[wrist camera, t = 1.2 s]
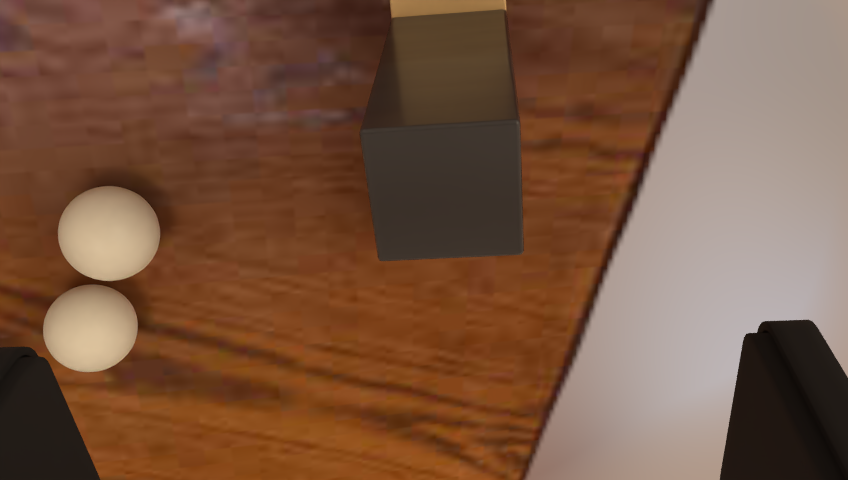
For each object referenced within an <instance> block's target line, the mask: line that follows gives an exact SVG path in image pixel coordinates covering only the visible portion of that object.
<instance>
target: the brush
mask: <svg viewBox="0 0 848 480" xmlns="http://www.w3.org/2000/svg"><path fill="white" fill-rule="evenodd" d="M390 9H391V18H392V20H391V24H390V27H389V31H388V34H387V38H386V41H385V45H384V48H383V52H382V55H381V59H380V62H379V66H378V69H377V73H376V76H375V80H374V83H373V87H372V90H371V94H370V98H369V101H368V105H367V108H366V112H365V115H364V119H363V122H362V126H361V129H360V139H361V146H362V153H363V159H364V166H365V173H366V180H367V186H368V193H369V200H370V207H371V213H372V220H373V227H374V233H375V240H376V247H377V254H378V258H379V260H380V261H395V260H417V259H438V258H459V257H481V256H502V255H520V254H522V253H523V251H524V244H523V207H522V170H521V133H520V117H519V109H518V101H517V93H516V85H515V77H514V69H513V61H512V53H511V44H510V36H509V28H508V20H507V12H506V0H390Z"/></svg>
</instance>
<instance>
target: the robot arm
mask: <svg viewBox="0 0 848 480" xmlns="http://www.w3.org/2000/svg"><path fill="white" fill-rule="evenodd" d="M0 480H100V478H99V476H98V473H97V471H96V469H95V466H94V464H93V462H92V460H91V457H90V455H89V453H88V451H87V448H86V446H85V444H84V441H83V439H82V437H81V435H80V432H79V430H78V428H77V426H76V423H75V421H74V419H73V416H72V414H71V412H70V410H69V407H68V405H67V403H66V401H65V398H64V396H63V394H62V392H61V389H60V387H59V385H58V382H57V380H56V378H55V376H54V373H53V371H52V369H51V367H50V364H49V363H48V361H47V360H46V359H45V358H43V357H38V355H37V353H36V352H35V351H34V350H33V349H31V348H30V347H2V348H0ZM720 480H848V378H847V376H846V374H845V372H844V371H843V369H842V367H841V366H840V364H839V362H838V361H837V359H836V358H835V356H834V354H833V353H832V351H831V349H830V348H829V346H828V344H827V343H826V341H825V339H824V338H823V336H822V335H821V333H820V332H819V329H818V328H817V327H816V325H815V324H814V323H813V322H812V321H810V320H790V321H765V322H762V323H761V324H760V326H759V328H758V332H757V333H748V334H746V335H745V337H744V340H743V345H742V351H741V357H740V363H739V369H738V375H737V381H736V386H735V392H734V398H733V404H732V410H731V416H730V422H729V427H728V433H727V440H726V445H725V451H724V457H723V462H722V468H721V475H720Z"/></svg>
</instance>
